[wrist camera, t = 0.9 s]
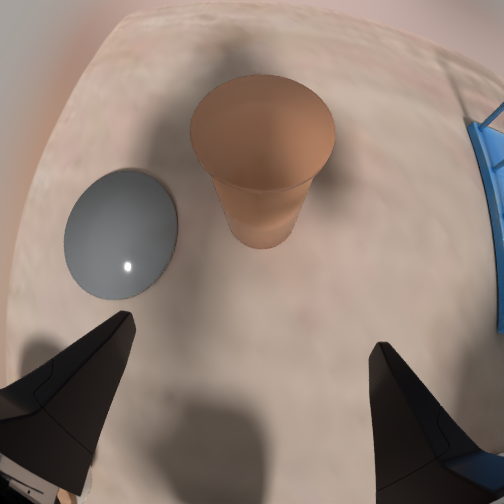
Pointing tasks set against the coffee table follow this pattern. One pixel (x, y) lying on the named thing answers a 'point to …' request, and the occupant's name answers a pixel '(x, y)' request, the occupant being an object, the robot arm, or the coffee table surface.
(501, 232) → the file sorter
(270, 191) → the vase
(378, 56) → the coffee table surface
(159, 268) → the coaster
